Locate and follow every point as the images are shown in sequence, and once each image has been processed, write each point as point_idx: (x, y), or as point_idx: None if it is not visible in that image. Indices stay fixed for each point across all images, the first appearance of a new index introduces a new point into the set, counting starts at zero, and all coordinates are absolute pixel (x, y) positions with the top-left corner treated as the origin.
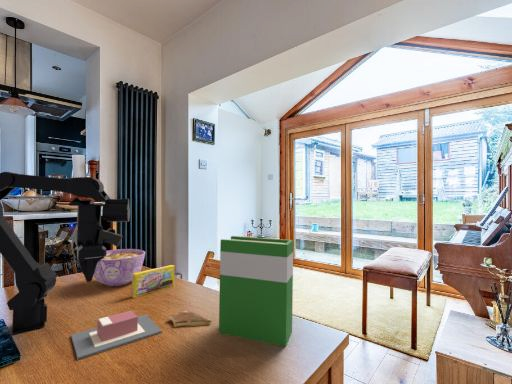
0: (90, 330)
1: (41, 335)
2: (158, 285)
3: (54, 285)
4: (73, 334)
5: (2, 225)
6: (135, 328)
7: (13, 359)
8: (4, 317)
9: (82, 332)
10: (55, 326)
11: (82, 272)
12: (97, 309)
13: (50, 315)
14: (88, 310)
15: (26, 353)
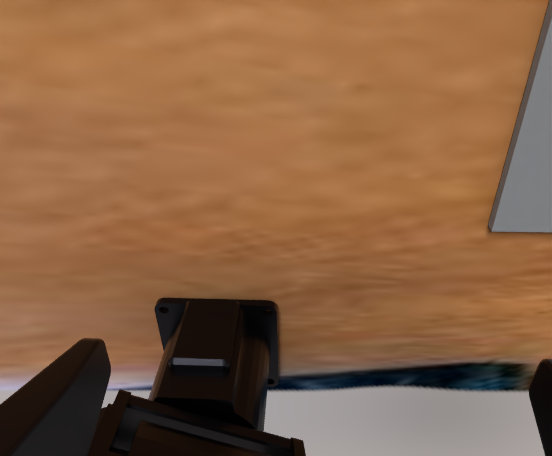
0: (531, 148)
1: (361, 310)
2: None
3: (143, 440)
4: (499, 222)
5: None
6: None
7: (505, 376)
8: None
9: (516, 185)
10: (296, 264)
11: (106, 388)
12: (163, 43)
13: (126, 271)
14: (150, 100)
15: (494, 350)
